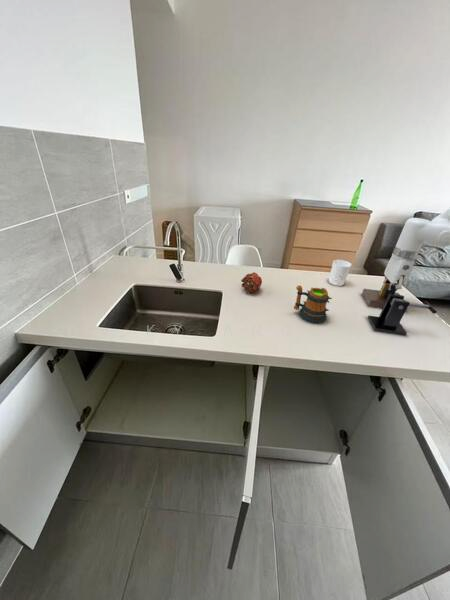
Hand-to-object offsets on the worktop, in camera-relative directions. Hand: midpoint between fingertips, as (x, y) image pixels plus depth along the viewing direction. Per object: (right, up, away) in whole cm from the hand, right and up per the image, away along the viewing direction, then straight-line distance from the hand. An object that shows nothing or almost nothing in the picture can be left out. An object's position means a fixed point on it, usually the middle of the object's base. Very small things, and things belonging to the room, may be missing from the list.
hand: (385, 295), depth 100 cm
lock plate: (0, -3, +2) cm, 4 cm away
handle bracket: (-8, -11, -13) cm, 19 cm away
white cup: (-13, +6, +16) cm, 22 cm away
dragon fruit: (-55, +2, +6) cm, 55 cm away
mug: (-35, -8, -9) cm, 37 cm away
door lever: (-4, -5, -18) cm, 19 cm away
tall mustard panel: (0, 0, 0) cm, 0 cm away
